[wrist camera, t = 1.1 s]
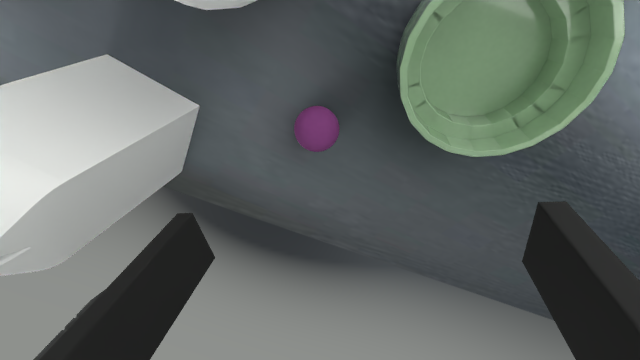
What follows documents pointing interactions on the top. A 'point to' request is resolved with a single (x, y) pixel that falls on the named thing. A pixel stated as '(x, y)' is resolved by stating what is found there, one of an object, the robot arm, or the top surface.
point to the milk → (82, 156)
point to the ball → (316, 128)
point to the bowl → (504, 69)
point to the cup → (216, 3)
